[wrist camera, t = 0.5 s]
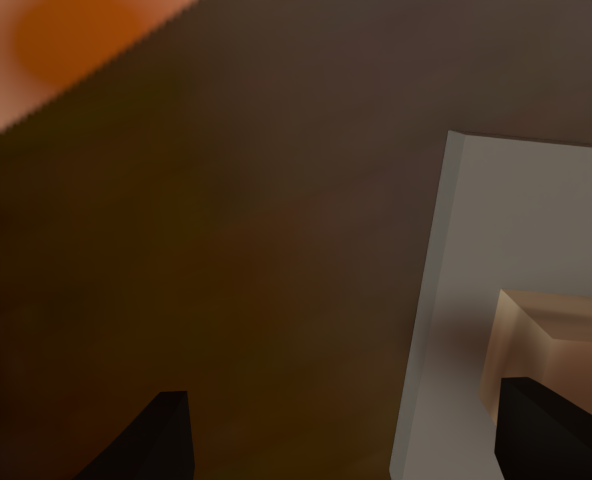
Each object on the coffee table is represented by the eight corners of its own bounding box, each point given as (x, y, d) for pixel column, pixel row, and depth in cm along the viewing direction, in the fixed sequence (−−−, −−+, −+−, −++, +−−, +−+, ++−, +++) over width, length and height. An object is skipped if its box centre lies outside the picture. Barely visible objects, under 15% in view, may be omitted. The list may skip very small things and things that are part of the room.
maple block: (588, 404, 21) (656, 476, 17) (477, 394, 21) (520, 465, 17) (618, 299, 20) (698, 351, 16) (500, 288, 19) (552, 339, 16)
